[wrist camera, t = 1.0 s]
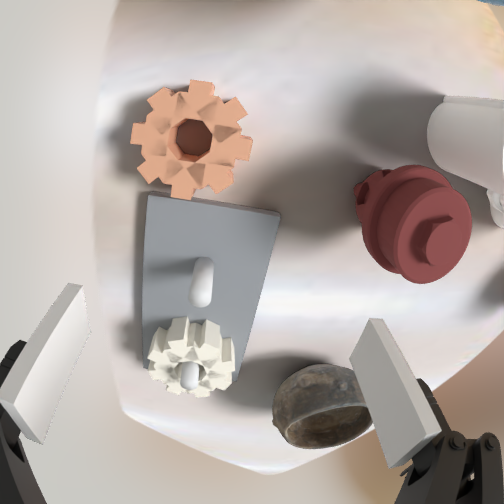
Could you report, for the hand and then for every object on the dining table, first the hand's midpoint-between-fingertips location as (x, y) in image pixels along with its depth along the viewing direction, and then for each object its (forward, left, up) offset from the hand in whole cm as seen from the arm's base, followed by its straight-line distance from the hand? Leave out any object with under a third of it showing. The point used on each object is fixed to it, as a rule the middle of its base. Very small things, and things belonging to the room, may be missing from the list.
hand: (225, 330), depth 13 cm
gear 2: (+18, -1, -18) cm, 26 cm away
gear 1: (-6, -4, -19) cm, 20 cm away
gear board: (+12, -1, -19) cm, 23 cm away
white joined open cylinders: (-12, +32, -19) cm, 39 cm away
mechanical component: (-4, +16, -19) cm, 25 cm away
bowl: (+24, +18, -19) cm, 35 cm away
